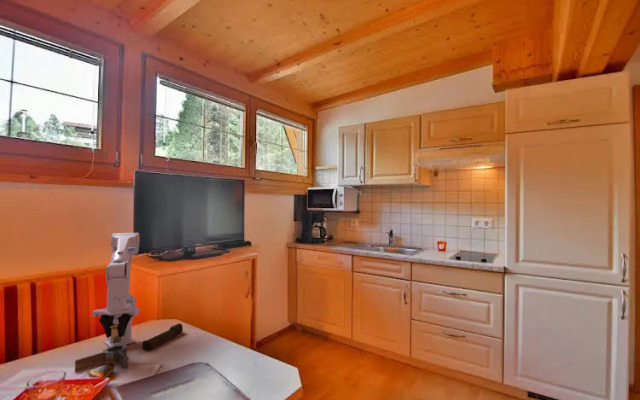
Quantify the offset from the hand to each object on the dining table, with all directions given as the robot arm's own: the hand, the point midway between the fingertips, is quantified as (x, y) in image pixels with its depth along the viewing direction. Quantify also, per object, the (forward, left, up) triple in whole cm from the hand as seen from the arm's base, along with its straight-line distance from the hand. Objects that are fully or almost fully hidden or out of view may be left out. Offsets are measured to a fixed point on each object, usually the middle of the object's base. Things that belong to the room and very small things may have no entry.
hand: (115, 336), depth 106 cm
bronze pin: (0, 0, -2) cm, 2 cm away
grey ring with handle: (+4, 0, -8) cm, 9 cm away
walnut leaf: (0, -4, -8) cm, 9 cm away
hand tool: (-3, +18, -8) cm, 20 cm away
